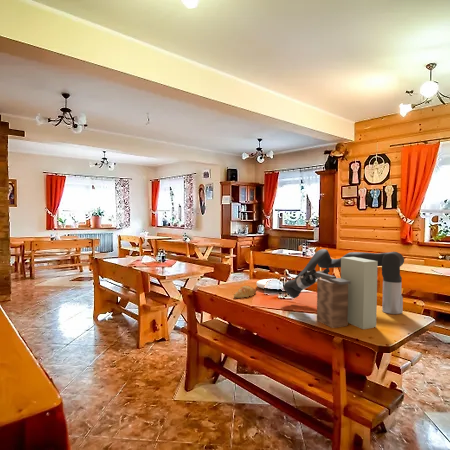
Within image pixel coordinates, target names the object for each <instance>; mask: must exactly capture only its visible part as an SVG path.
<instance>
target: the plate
mask: <svg viewBox="0 0 450 450" xmlns="http://www.w3.org/2000/svg"><path fill="white" fill-rule="evenodd" d="M272 279H273V278H267V279H266V278H264V279H260V280H257V281H256V286H257V287H258V288H261V289H264V286H265V284H266V282H267V281H268V280H272Z"/></svg>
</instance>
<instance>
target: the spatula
mask: <svg viewBox="0 0 450 450" xmlns="http://www.w3.org/2000/svg"><path fill="white" fill-rule="evenodd" d="M315 276H317V277H321V278H324V279H327V280H329V281H330V282H333V283H337V284H340V285H342V284H351V281H348V280H345V279H341V277H337V276H335V275H333V274H332V275H331V274H329V273H328V274H325V273H321V272H317V271H316V273H315Z"/></svg>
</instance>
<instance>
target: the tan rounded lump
mask: <svg viewBox="0 0 450 450" xmlns="http://www.w3.org/2000/svg"><path fill="white" fill-rule="evenodd" d="M257 291H258V289H257V288H254V287H252V286H250V285H243V286H241V287H240V288H239V289H238V290H237V291H236V292H235V293H234V294H233V297H234V298H237V299H242V298H243V299H244V297H247V298H250V297H249V296H251V297H253V295H255V294H256V293H257Z"/></svg>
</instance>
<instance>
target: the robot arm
mask: <svg viewBox="0 0 450 450" xmlns="http://www.w3.org/2000/svg"><path fill="white" fill-rule="evenodd" d="M342 257H357V258H363V259H368V260H374V261H378V266H377V267H381V275H382V308H381V309H382V312H383V313H385V314H388V315H389V314H390V315H399V314H403V311H404V310H403V305H404V301H403V300H404V296H403V295H402V283H403V282H402V279H403V278H402V276H401V267H403V264H405V257H404V255H402V253H400V252H397V251H390V252H388V251H387V252H380V253H379V252H378V253H376V252H364V251H363V252H362V251H361V252H359V251H358V252H357V251H353V252H352V251H351V252H348V253H346V254H344V255H343V256H341V257H340V258H332V257H331V255H330V252H329V251H328V250H327V249H325V248H322V249H319V250H317V251H316V252H315V253H314V254H313V256H312V257H310V258H311V259H310V260H309V262H308V263H307V264H306V266H305V267H303V269H302V270H301V271H300V272H299V273H298V274H297V275H296V276H295V277H294V279H290V280H287V282H286V283H285V284H284V290H283V291H285V292H286V293H287V294H288V295H289V296H290V297H291V298H292V299H296V298H298V297H299V296H300V295H301V292H302V291H303V290H305V289H307V288H309V287H311V286H313V285H314V284H315V283H316V282H317V279H319V278H321V277H317V276H315V273H316V272H321V273H325V274H329V273H330V272H331V271H330V269H334V268H341V258H342ZM317 265H318V267H319V268H320V269H323V270H317V271H316V268H317Z"/></svg>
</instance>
